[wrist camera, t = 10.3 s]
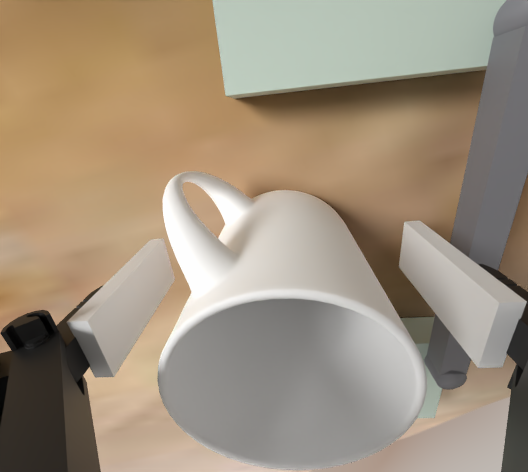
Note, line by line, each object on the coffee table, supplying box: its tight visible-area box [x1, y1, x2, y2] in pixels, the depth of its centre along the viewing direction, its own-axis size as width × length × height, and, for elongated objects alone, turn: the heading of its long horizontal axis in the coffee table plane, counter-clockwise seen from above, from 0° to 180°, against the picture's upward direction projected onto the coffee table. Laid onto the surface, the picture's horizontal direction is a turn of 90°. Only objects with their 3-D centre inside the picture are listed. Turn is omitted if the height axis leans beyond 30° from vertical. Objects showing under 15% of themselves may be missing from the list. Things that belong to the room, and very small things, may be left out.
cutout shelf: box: [213, 0, 528, 418], centre depth 16 cm, size 32×13×4 cm, turn 6°
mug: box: [158, 171, 427, 470], centre depth 13 cm, size 9×12×11 cm
